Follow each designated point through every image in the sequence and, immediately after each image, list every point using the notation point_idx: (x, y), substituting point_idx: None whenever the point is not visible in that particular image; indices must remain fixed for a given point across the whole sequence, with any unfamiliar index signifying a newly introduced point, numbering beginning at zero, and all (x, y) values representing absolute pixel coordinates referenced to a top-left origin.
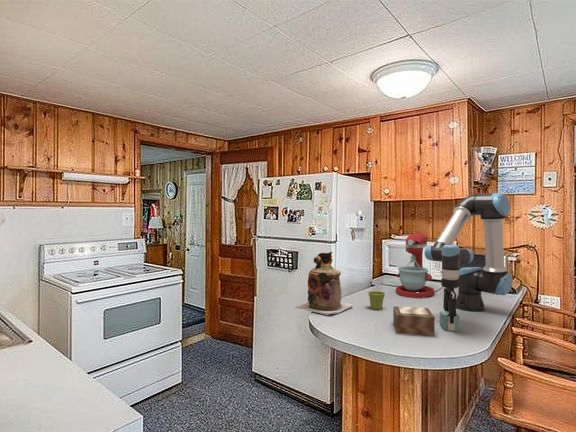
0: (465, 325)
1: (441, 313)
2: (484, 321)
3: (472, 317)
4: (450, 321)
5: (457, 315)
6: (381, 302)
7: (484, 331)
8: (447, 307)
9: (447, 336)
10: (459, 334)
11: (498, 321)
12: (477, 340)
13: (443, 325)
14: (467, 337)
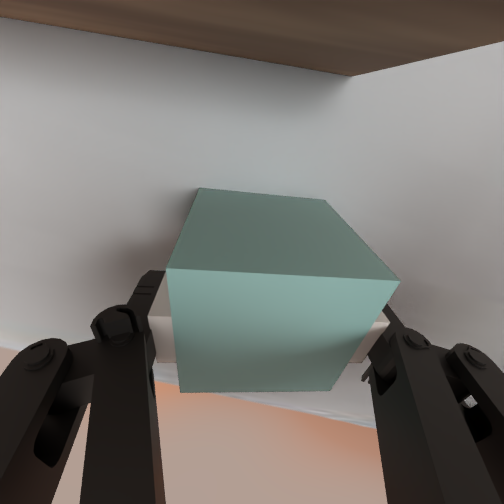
0: None
1: (296, 268)
2: (362, 394)
3: None
4: (142, 284)
5: (193, 384)
6: None
7: None
8: (390, 397)
9: (4, 168)
10: (120, 269)
11: (353, 417)
12: (41, 322)
13: (192, 206)
14: (73, 293)
